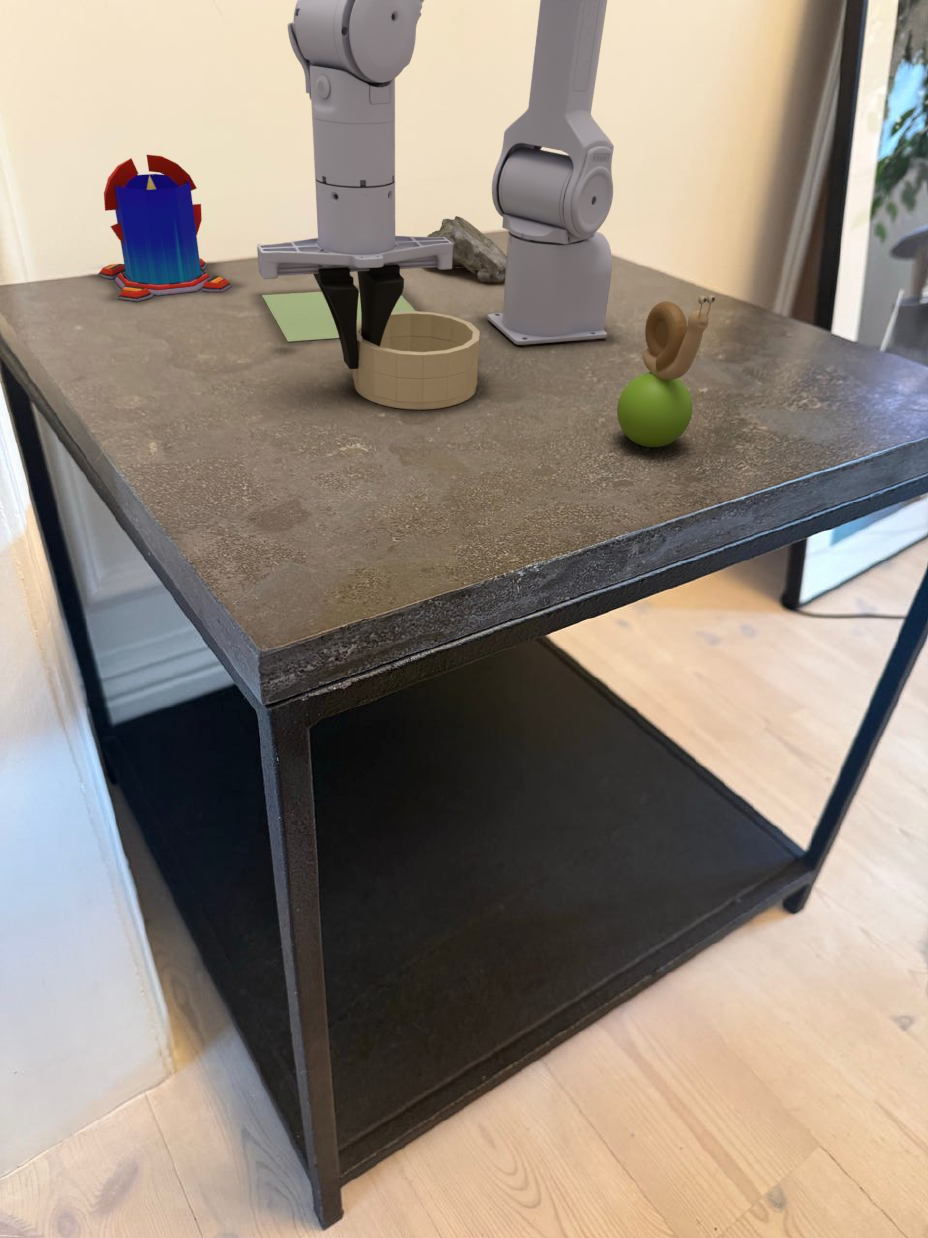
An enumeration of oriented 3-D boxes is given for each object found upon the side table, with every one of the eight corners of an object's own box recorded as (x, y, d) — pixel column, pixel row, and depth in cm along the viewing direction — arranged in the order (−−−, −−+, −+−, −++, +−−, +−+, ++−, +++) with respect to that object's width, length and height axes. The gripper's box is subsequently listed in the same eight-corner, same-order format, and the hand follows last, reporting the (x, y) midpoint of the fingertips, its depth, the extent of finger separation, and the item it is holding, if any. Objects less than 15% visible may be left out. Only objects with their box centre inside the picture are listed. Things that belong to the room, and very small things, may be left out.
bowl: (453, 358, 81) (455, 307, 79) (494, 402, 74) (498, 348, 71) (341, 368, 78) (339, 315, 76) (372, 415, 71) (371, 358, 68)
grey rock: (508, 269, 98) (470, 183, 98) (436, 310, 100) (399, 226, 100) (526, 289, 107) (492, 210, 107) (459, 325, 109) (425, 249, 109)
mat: (393, 287, 98) (393, 287, 98) (434, 330, 87) (434, 330, 87) (262, 295, 93) (261, 295, 93) (287, 341, 83) (287, 341, 83)
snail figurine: (644, 470, 65) (675, 299, 58) (599, 433, 70) (621, 271, 63) (707, 459, 67) (744, 293, 60) (658, 424, 72) (687, 266, 65)
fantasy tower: (121, 303, 90) (97, 169, 82) (94, 271, 98) (70, 146, 91) (237, 290, 95) (224, 162, 87) (203, 260, 103) (188, 141, 96)
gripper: (263, 194, 60) (278, 390, 68) (469, 188, 65) (461, 374, 73) (246, 173, 66) (262, 357, 74) (438, 169, 70) (433, 343, 78)
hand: (359, 363), depth 73 cm, fingers closed on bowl
